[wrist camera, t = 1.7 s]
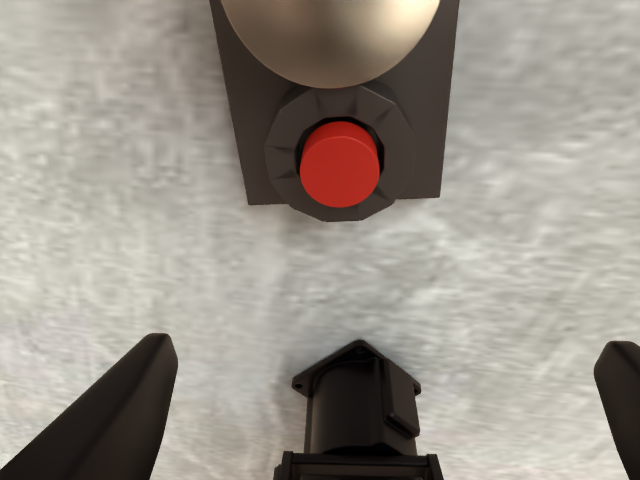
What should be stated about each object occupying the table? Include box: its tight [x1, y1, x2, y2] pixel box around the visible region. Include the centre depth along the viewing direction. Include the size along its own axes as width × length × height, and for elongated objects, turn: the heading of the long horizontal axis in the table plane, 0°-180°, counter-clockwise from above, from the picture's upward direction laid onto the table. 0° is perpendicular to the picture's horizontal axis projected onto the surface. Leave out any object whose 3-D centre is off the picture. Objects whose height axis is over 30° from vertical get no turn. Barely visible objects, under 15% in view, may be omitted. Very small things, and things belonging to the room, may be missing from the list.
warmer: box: [209, 0, 459, 222], centre depth 17 cm, size 13×9×3 cm
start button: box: [300, 121, 379, 208], centre depth 17 cm, size 3×3×2 cm
